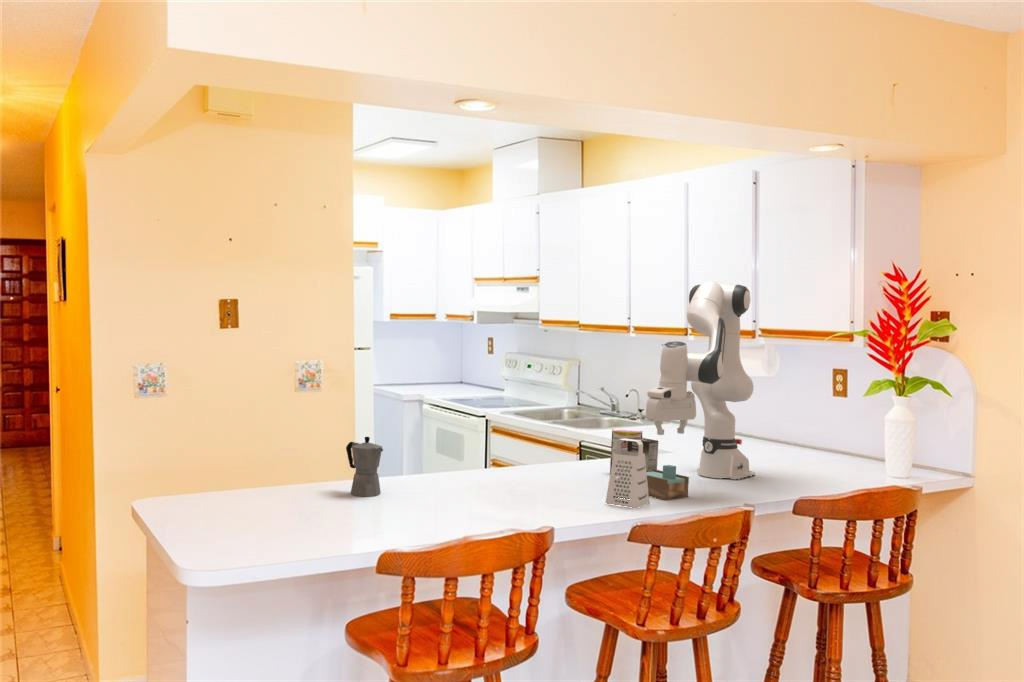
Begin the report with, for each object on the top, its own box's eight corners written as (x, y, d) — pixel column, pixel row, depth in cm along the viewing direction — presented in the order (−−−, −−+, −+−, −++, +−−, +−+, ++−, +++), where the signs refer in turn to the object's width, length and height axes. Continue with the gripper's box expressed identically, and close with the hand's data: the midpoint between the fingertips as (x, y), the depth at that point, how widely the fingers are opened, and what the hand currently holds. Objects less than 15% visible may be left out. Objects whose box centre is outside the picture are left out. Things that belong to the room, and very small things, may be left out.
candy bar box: (609, 475, 330) (611, 430, 329) (609, 472, 335) (611, 428, 334) (640, 477, 329) (642, 431, 328) (640, 474, 334) (642, 430, 333)
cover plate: (653, 474, 307) (653, 459, 307) (685, 481, 295) (685, 466, 295) (635, 476, 302) (635, 461, 302) (667, 484, 290) (667, 468, 290)
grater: (636, 509, 275) (639, 443, 275) (605, 504, 280) (607, 440, 280) (649, 503, 284) (651, 439, 284) (618, 498, 290) (620, 436, 289)
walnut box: (652, 487, 309) (653, 468, 309) (687, 496, 296) (688, 477, 296) (629, 490, 302) (629, 471, 302) (664, 500, 290) (665, 479, 289)
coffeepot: (391, 494, 283) (393, 437, 283) (370, 499, 276) (371, 440, 275) (356, 487, 292) (357, 432, 292) (334, 492, 285) (336, 435, 284)
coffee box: (624, 484, 313) (626, 438, 313) (635, 482, 318) (637, 436, 318) (646, 488, 307) (648, 441, 307) (657, 486, 312) (659, 440, 311)
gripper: (687, 390, 303) (685, 431, 304) (643, 391, 291) (641, 434, 291) (701, 392, 298) (699, 433, 299) (658, 393, 286) (655, 436, 286)
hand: (670, 434), depth 295 cm, fingers open, 8 cm apart
